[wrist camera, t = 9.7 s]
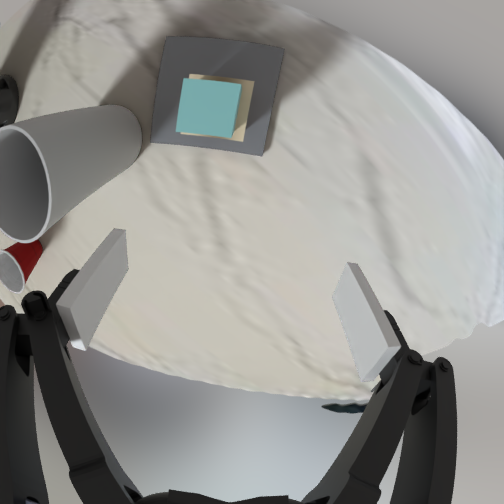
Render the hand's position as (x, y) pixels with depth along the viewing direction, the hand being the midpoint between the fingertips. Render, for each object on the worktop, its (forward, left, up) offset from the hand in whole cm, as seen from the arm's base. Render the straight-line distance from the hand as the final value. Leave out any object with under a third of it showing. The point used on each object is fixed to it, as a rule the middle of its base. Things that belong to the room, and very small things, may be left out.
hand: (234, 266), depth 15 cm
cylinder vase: (-23, +1, -31) cm, 39 cm away
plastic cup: (-47, -24, -31) cm, 61 cm away
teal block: (-4, +8, -17) cm, 19 cm away
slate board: (-6, +10, -31) cm, 33 cm away
